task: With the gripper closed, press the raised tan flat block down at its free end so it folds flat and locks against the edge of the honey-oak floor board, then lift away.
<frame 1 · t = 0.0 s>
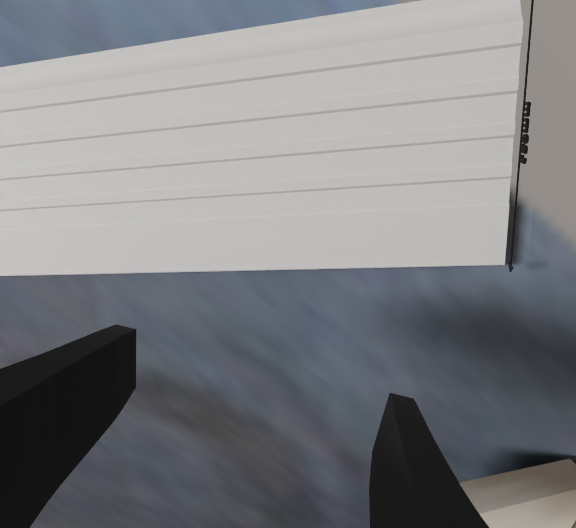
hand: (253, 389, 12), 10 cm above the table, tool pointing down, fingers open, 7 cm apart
baseboard: (168, 148, 21), on the table
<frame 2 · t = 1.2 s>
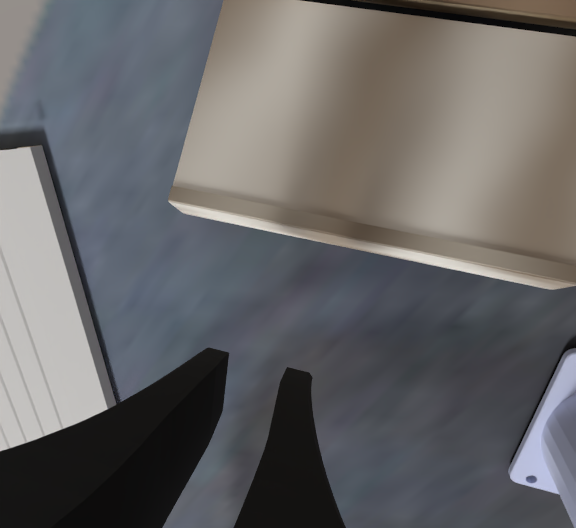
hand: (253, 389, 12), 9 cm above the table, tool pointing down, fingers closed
baseboard: (43, 390, 28), on the table
tan flat block: (382, 133, 15), point 3 cm above the table, hinge at 30.0°
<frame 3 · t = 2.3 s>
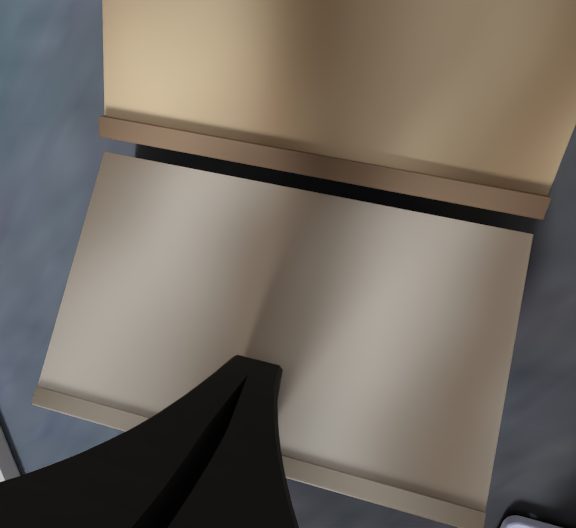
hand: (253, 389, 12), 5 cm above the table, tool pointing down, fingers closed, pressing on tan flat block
floor board: (331, 65, 13), on the table
tan flat block: (276, 322, 13), point 3 cm above the table, hinge at 28.7°, touching gripper
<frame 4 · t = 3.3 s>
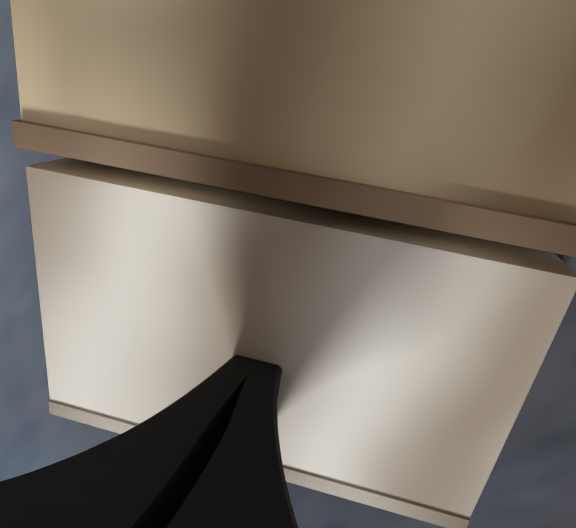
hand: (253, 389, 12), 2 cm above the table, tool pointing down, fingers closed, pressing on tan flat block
floor board: (314, 54, 10), on the table
tan flat block: (265, 346, 12), point 1 cm above the table, hinge at -0.8°, touching gripper
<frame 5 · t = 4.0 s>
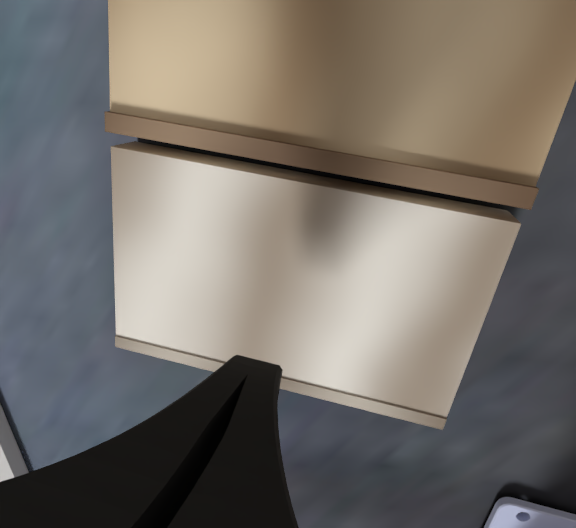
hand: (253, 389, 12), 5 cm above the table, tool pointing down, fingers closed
floor board: (329, 62, 13), on the table
tan flat block: (289, 286, 15), point 1 cm above the table, hinge at -0.9°
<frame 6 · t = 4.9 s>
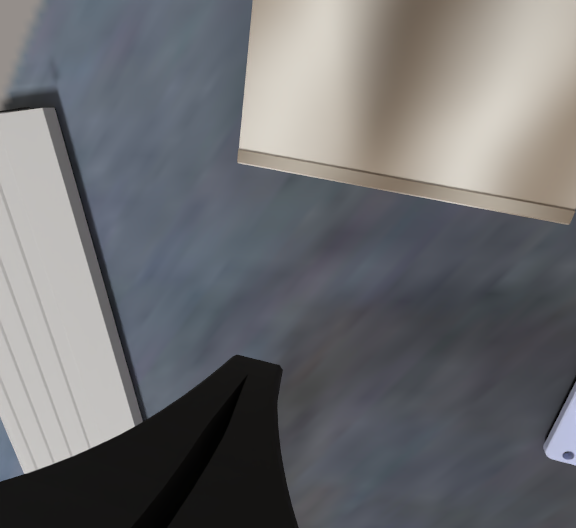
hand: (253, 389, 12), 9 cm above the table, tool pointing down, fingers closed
baseboard: (55, 371, 27), on the table
tan flat block: (420, 83, 16), point 1 cm above the table, hinge at -0.9°
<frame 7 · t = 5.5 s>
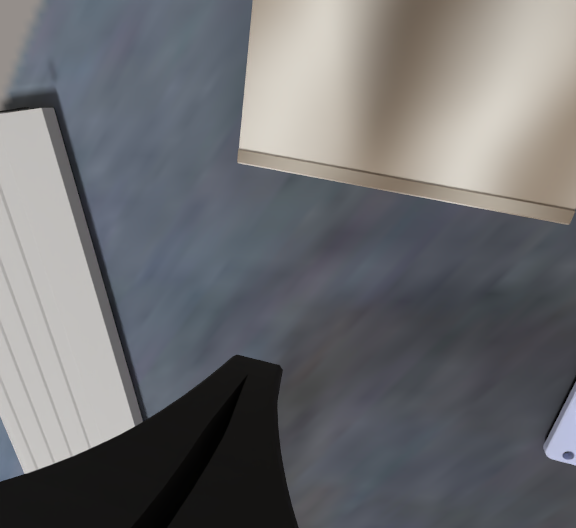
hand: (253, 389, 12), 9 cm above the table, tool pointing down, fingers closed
baseboard: (56, 371, 27), on the table
tan flat block: (420, 83, 16), point 1 cm above the table, hinge at -0.9°
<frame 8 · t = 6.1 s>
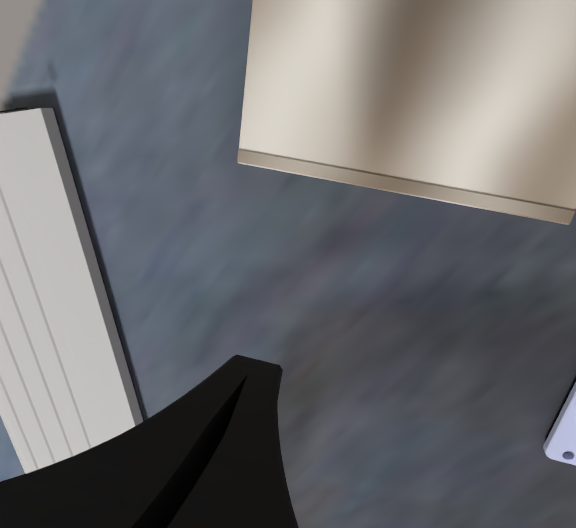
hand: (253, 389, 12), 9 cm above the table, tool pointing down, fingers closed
baseboard: (56, 371, 27), on the table
tan flat block: (420, 83, 16), point 1 cm above the table, hinge at -0.9°
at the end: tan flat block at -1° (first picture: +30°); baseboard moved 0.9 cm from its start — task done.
